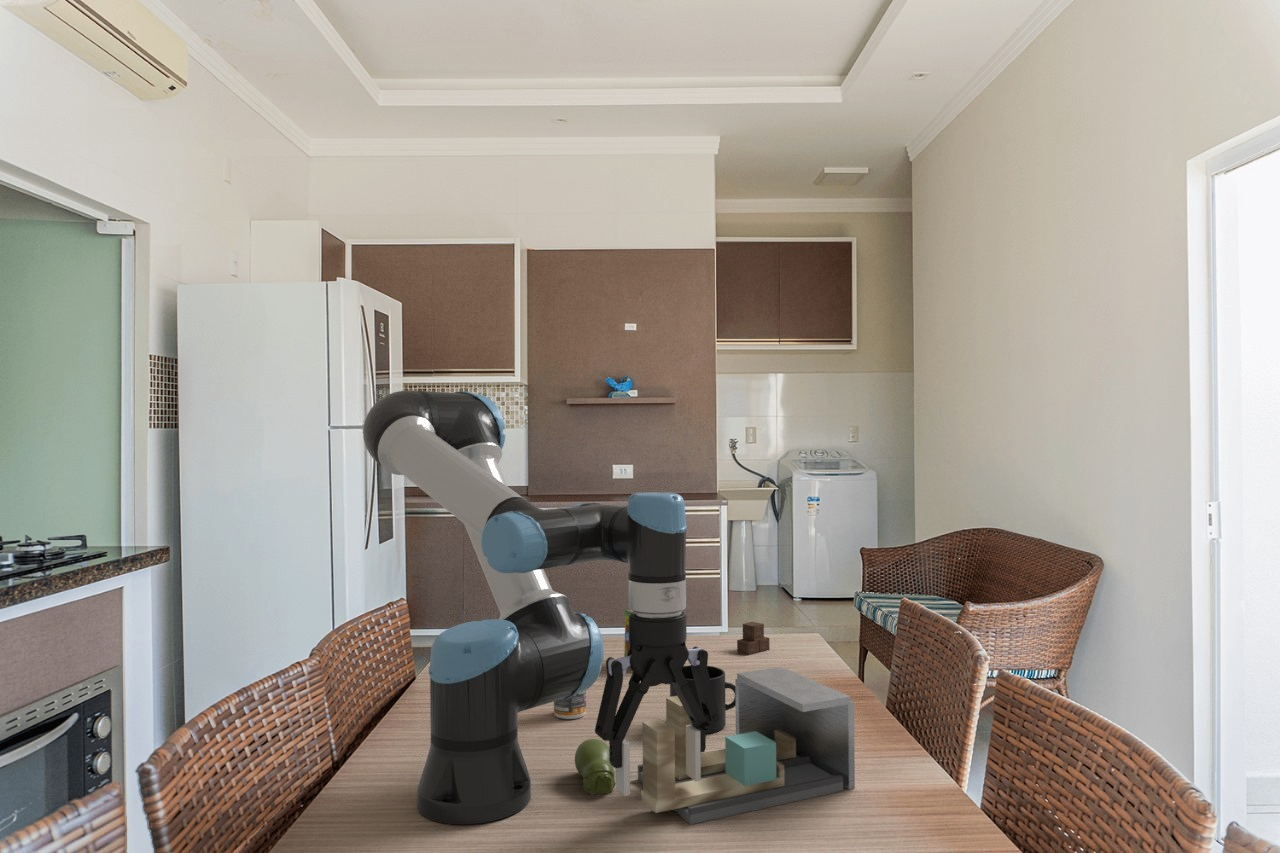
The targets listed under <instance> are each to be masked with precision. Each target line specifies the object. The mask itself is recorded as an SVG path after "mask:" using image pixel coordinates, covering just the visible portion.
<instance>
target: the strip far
mask: <svg viewBox="0 0 1280 853" xmlns="http://www.w3.org/2000/svg"><path fill="white" fill-rule="evenodd" d="M665 705H666V706H665V707H666V709H665V710H666V711H665V714H666V715H665V716H666V717H665V718H666V719H665V720H666V722H665V723H666V724H668V725H669V726H671V727H672V728H674V729H675V777H676V778H677V779H679V780H682V779H687V778H690V777H689V776H688V775H686V725H692V726H693V723H692V722H691V721H690V719H689V717H688V715H687V713H686V711H685V709H684V707H683V705H682V703H681V701H680V700H679V698H678V696H673V697H670V696H667V697H665ZM773 741H774V742H776V761H778V760H783V759H788V758H793V757H796V738H795V737H793V736H791V735H789V734H787V733H785V732H784V731H782V730H780V729H776V730H775V740H773ZM718 750H719V751H717V750H713V751H714V752H712V751H708V753H706V752H702V753H703V754H701V776H702V775H707V774H712V773H717V772H722V771H726V761H725V750H723V749H718Z"/></svg>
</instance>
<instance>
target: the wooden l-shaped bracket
mask: <svg viewBox="0 0 1280 853" xmlns="http://www.w3.org/2000/svg"><path fill="white" fill-rule="evenodd" d="M642 764H643V783H642V790H640V792H641V793H640V795H641V796H640V797H641V799H640V800H641V801H642V802H643V803H644V804H645V805H646V806H647V807H648V808H650V809H651V810H652V811H653V813H655V814H658V813H662V812H663V813H664V812H667V811H671V810H672V811H674V810H673V809H677V808H682V807H687V806H691V805H696V804H701V803H706V802H710V801H715V800H720V799H725V798H729V797H734V796H739V795H743V794H748V793H753V792H758V791H762V790H767V789H772V788H776V787H781V786H784V765H783V764H781V763H780V762H778V761H776V780H772V781H768V782H763V783H758V784H753V785H748V786H744V785H742V784H741V783H739V782H738V781H736V780H735V779H734V778H732V777H731V776H729V775H728V774H723V775H718V776H713V777H707V778H702V779H701V781H694V780H692V781H687V782H682V783H677V784H675V729H674V728H672V727H671V726H669V725H668V724H666V722H664V721H663V720H661V718H658V719H652V720H646V721H642Z"/></svg>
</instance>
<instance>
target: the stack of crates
mask: <svg viewBox="0 0 1280 853" xmlns="http://www.w3.org/2000/svg"><path fill="white" fill-rule="evenodd" d="M736 644H737V645H736V648H737V652H736V653H737V654H742V655H745V656H751V655H756V654H760V653H764V652H767V650H768V651H770V646H771V645H770V637H767V636H765V624H764V623H761V622H755V621H749V622H745V623H742V638H741V639H737V640H736Z"/></svg>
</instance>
